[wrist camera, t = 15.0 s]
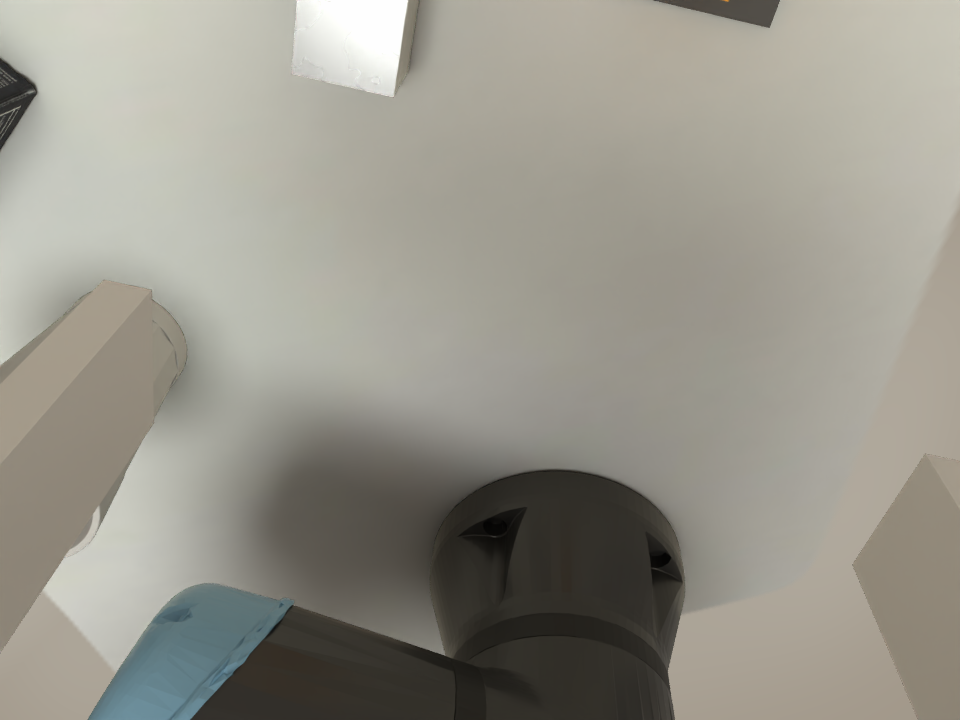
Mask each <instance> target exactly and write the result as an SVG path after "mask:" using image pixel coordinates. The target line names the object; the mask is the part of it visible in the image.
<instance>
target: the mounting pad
mask: <svg viewBox="0 0 960 720" xmlns="http://www.w3.org/2000/svg"><path fill="white" fill-rule="evenodd" d="M655 1H659V2H663V3H667V4H672V5H676V6H680V7H684V8H688V9H693V10H697V11H701V12H705V13H709V14H713V15H718V16H722V17H726V18H730V19H734V20H739V21H743V22H747V23H751V24H755V25H760V26H764V27H768V28H770V25H771V23H772V20H773V17H774V15H775V12H776V9H777V7H778V4H779V2H780V0H729V1H724V0H655Z"/></svg>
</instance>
